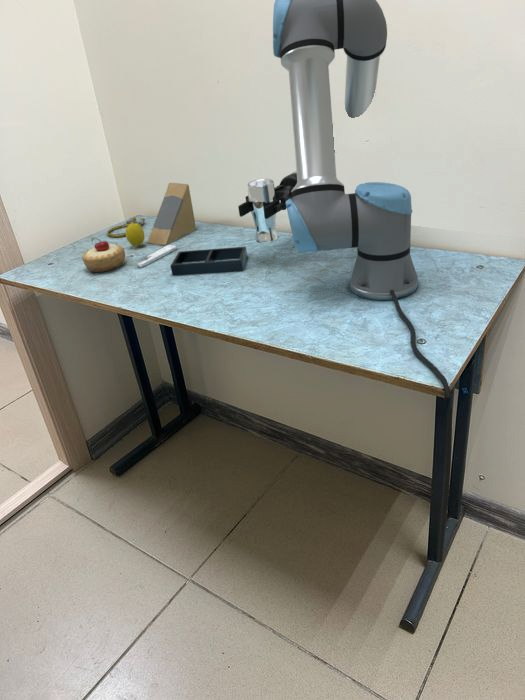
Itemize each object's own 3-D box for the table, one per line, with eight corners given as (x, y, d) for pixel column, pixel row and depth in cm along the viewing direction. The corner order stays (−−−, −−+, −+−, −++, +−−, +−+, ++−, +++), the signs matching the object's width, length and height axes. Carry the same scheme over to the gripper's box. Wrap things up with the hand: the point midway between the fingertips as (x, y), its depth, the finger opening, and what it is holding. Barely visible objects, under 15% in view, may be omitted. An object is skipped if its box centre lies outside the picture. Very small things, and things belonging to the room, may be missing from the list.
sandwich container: (145, 242, 173) (134, 196, 165) (177, 227, 183) (168, 182, 176) (165, 245, 169) (154, 197, 161) (196, 229, 179) (188, 183, 171)
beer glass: (280, 233, 146) (275, 177, 138) (279, 243, 140) (273, 185, 133) (255, 235, 147) (248, 180, 139) (252, 245, 141) (245, 187, 134)
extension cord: (156, 225, 188) (155, 219, 187) (118, 240, 179) (117, 234, 178) (137, 220, 195) (135, 215, 194) (99, 234, 186) (97, 228, 185)
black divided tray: (242, 270, 144) (241, 260, 143) (172, 275, 147) (170, 265, 145) (247, 256, 153) (245, 246, 151) (180, 261, 155) (178, 251, 154)
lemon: (128, 246, 172) (122, 221, 168) (145, 242, 173) (140, 218, 169) (130, 251, 168) (123, 226, 164) (147, 247, 169) (142, 222, 165)
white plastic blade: (129, 265, 157) (128, 261, 157) (165, 247, 167) (164, 243, 167) (141, 267, 154) (140, 263, 154) (177, 249, 164) (176, 245, 164)
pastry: (113, 275, 152) (104, 245, 147) (78, 274, 156) (68, 245, 151) (134, 259, 161) (127, 230, 157) (101, 258, 165) (93, 230, 161)
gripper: (329, 201, 148) (288, 230, 133) (268, 197, 158) (223, 223, 143) (328, 173, 145) (285, 199, 129) (265, 171, 155) (218, 195, 139)
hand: (252, 212), depth 136 cm, fingers closed on beer glass, 7 cm apart
